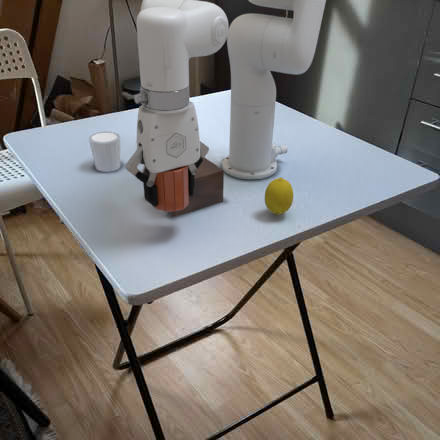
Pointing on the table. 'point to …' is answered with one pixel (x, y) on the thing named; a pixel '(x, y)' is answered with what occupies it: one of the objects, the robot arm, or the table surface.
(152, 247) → the table surface
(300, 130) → the table surface
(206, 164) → the shelf
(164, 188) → the cup
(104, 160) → the white short cylinder
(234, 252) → the table surface
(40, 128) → the table surface
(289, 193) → the lemon
